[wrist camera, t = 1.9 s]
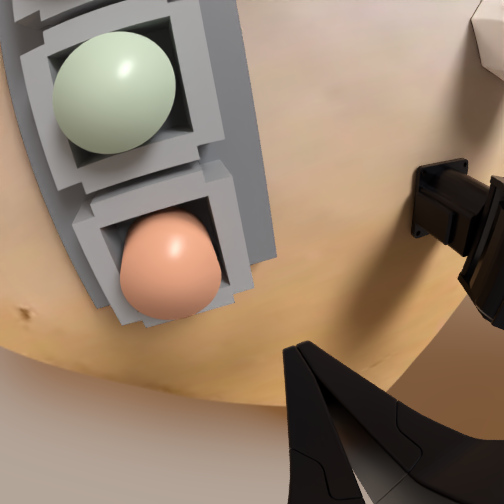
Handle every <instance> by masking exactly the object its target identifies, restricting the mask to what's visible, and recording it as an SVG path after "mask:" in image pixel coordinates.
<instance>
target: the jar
mask: <svg viewBox="0 0 504 504" xmlns="http://www.w3.org/2000/svg"><path fill="white" fill-rule="evenodd" d="M471 21H472V24H473V28H474V32H475V36H476V40H477V44H478V49H479V54H480V58H481V64H482V66H483V67H484V68H486V69H487V70H489V71H490V72H492V73H493V74H495V75H496V76H497V77H499V78H500V79H502V80H503V81H504V0H482V2H481V4H480V5H479V7H478V9H477V10H476V12H475V14H474V15H473V17H472V18H471Z"/></svg>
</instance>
